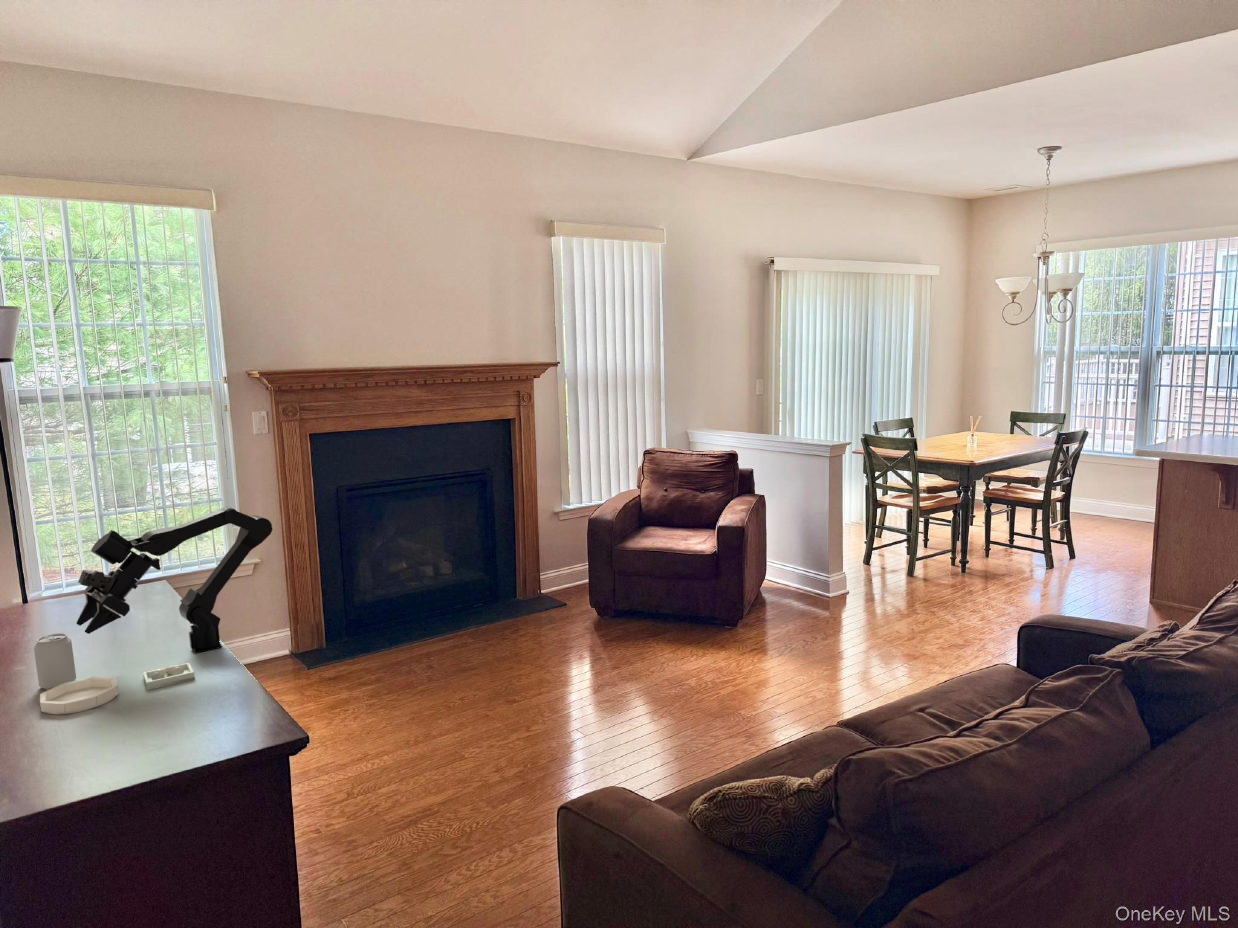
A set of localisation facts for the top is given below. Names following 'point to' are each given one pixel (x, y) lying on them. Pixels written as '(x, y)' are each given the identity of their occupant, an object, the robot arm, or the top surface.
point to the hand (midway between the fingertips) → (82, 628)
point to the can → (54, 660)
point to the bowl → (78, 695)
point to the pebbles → (167, 672)
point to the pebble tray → (168, 677)
